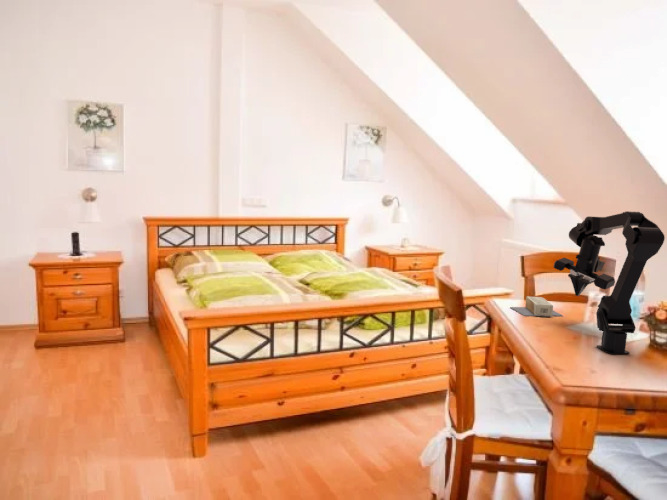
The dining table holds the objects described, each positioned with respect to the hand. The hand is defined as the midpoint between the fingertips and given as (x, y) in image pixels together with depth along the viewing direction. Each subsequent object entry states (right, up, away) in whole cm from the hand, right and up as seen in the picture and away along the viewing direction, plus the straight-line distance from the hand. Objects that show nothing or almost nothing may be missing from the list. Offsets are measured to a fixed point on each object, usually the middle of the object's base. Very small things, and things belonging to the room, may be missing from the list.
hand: (577, 295), depth 179 cm
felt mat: (-7, -8, +19) cm, 22 cm away
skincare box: (-7, -6, +12) cm, 15 cm away
